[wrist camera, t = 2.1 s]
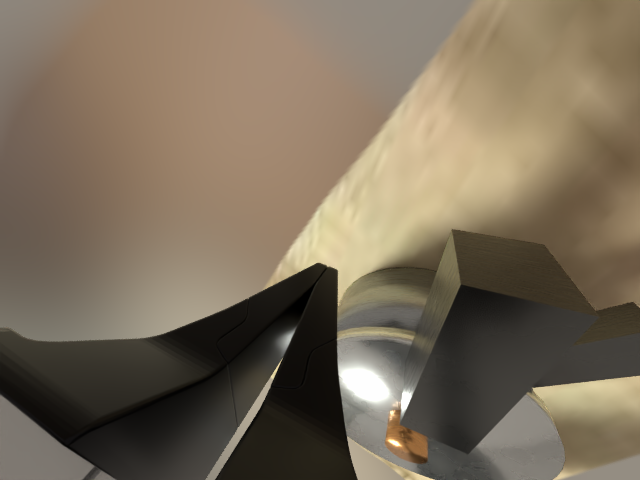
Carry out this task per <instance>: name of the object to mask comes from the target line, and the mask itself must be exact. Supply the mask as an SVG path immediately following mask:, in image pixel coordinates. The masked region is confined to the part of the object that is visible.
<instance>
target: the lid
mask: <svg viewBox="0 0 640 480" xmlns="http://www.w3.org/2000/svg"><path fill="white" fill-rule="evenodd" d="M598 318H599V316H598V314H597V313H596V312H595V310H594V309H593V308H592V307H591V305H590V304H589V303H588V301H587V300H586V299H585V297H584V296H583V295H582V294H581V292H580V291H579V290H578V288H577V287H576V286H575V284H574V283H573V282H572V281H571V279H570V278H569V277H568V275H567V274H566V273H565V271H564V270H563V269H562V268H561V266H560V265H559V264H558V262H557V261H556V260H555V258H554V257H553V256H552V255H551V253H550V252H549V251H548V249H547V248H546V247H545V245H542V244H536V243H530V242H524V241H518V240H513V239H507V238H501V237H495V236H489V235H483V234H477V233H471V232H466V231H460V230H454V229H452V230H451V233H450V236H449V239H448V242H447V244H446V247H445V250H444V253H443V256H442V259H441V261H440V264H439V267H438V270H437V273H436V276H435V278H434V281H433V284H432V287H431V290H430V293H429V296H428V298H427V301H426V304H425V307H424V310H423V313H422V315H421V318H420V321H419V324H418V327H417V330H416V331H410V330H404V329H399V328H388V327H360V328H351V329H347V330H343V331H339V332H337V353H338V372H339V382H340V390H341V398H342V405H343V413H344V421H345V428H346V435H347V436H348V437H349V438H351V439H352V440H354V441H355V442H356V443H358V444H360V445H361V446H363V447H364V448H366V449H367V450H369V451H371V452H373V453H374V454H376V455H378V456H380V457H382V458H384V459H386V460H388V461H390V462H392V463H394V464H396V465H398V466H400V467H403V468H405V469H407V470H410V471H412V472H415V473H417V474H420V475H423V476H426V477H429V478H432V479H435V480H553V479H554V478H556V477H557V476H558V474H559V473H560V472H561V470H562V469H563V466H564V462H565V452H564V447H563V444H562V441H561V439H560V436H559V433H558V431H557V428H556V426H555V423H554V420H553V418H552V415H551V413H550V411H549V410H548V408H547V407H546V405H545V404H544V402H543V401H542V400H541V399H540V398H539V397H538V395H537V394H536V393H535V392H534V391H533V390H532V389H531V388H532V387H533V386H534V385H535V384H536V383H537V382H538V381H539V380H540V379H541V378H542V377H543V376H544V375H545V374H546V373H547V371H548V370H549V369H550V368H551V367H552V366H553V365H554V364H555V363H556V362H557V361H558V360H559V359H560V358H561V357H562V356H563V355H564V354H565V353H566V352H567V351H568V349H569V348H570V347H571V346H572V345H573V344H574V343H575V342H576V341H577V340H578V339H579V338H580V337H581V336H582V335H583V334H584V333H585V332H586V331H587V330H588V329H589V327H590V326H591V325H592V324H593V323H594V322H595V321H596V320H597V319H598Z"/></svg>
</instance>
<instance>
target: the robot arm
mask: <svg viewBox="0 0 640 480" xmlns="http://www.w3.org/2000/svg"><path fill="white" fill-rule="evenodd" d="M337 318H338V270H337V269H334V268H332V267H327V265H324V264H321V263H316V264H314V265H312V266H310V267H308V268H306V269H304V270H302V271H300V272H298V273H297V274H295V275H293V276H291V277H289V278H287V279H285V280H283V281H281V282H279V283H277V284H275V285H273V286H271V287H269V288H267V289H265V290H263V291H261V292H259V293H257V294H255V295H253V296H251V297H249V299H245V300H243V301H241V302H239V303H237V304H235V305H233V306H231V307H229V308H227V309H225V310H222V311H220V312H217V313H215V314H213V315H210V316H208V317H205V318H203V319H200V320H198V321H195V322H193V323H190V324H188V325H185V326H182V327H180V328H177V329H175V330H172V331H170V332H167V333H164V334H161V335H157V336H153V337H148V338H140V339H115V340H89V341H61V342H47V341H36V340H32V339H27V338H25V337H23V336H21V335H20V334H19V333H17V332H15V331H14V330H13V329H11V328H8V327H1V328H0V480H205V479H206V478H207V476H208V474H209V473H210V471H211V470H212V468H213V467H214V465H215V463H216V462H217V460H218V459H219V457H220V456H221V454H222V452H223V451H224V449H225V448H226V446H227V445H228V443H229V441H230V440H231V438H232V437H233V435H234V434H235V432H236V430H237V428H238V427H239V426H240V424H241V422H242V421H243V419H244V418H245V416H246V415H247V413H248V411H249V410H250V408H251V407H252V405H253V404H254V402H255V400H256V399H257V397H258V396H259V394H260V392H261V391H262V389H263V387H264V386H265V384H266V383H267V381H268V380H269V378H270V377H271V375H272V374H273V372H274V370H275V369H276V367H277V366H278V364H279V363H280V361H281V359H282V358H283V359H282V361H281V363H280V366H279V368H278V370H277V373H276V375H275V377H274V380H273V382H272V384H271V388H270V389H269V391H268V393H267V396H266V398H265V400H264V402H263V404H262V406H261V408H260V410H259V411H258V413H257V414H256V416H255V417H254V419H253V421H252V422H251V424H250V426H249V427H248V429H247V430H246V432H245V434H244V435H243V436H242V438H241V440H240V441H239V443H238V444H237V446H236V448H235V449H234V451H233V452H232V454H231V456H230V457H229V459H228V460H227V462H226V463H225V465H224V467H223V468H222V470H221V471H220V473H219V475H218V476H217V478H216V479H215V480H358V479H357V476H356V473H355V470H354V467H353V464H352V460H351V456H350V451H349V446H348V441H347V435H346V428H345V421H344V413H343V405H342V398H341V390H340V382H339V372H338V353H337ZM283 356H284V357H283Z"/></svg>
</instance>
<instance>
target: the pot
mask: <svg viewBox="0 0 640 480" xmlns="http://www.w3.org/2000/svg"><path fill="white" fill-rule="evenodd" d="M436 273H437V271H432V270H428V269H420V268H390V269H384V270H379V271H376V272H373V273H370V274H367V275H365V276H363V277H361V278H360V279H358V280H357V281H355V282H354V283H353V284H352V285H351V286H350V287H349V288H348V289H347V290H346V292H345V293H344V295H343V297H342V299H341V301H340V304H339V306H338V318H337V332H339V331H343V330H347V329H351V328H360V327H388V328H399V329H404V330H410V331H416V330H417V327H418V324H419V321H420V318H421V315H422V313H423V310H424V307H425V304H426V301H427V298H428V296H429V293H430V290H431V287H432V284H433V281H434V278H435V276H436ZM595 312H596V313H597V314H598V316H599V318H598V319H597V320H596V321H595V322H594V323H593V324H592V325H591V326H590V327H589V329H588V330H587V331H586V332H585V333H584V334H583V335H582V336H581V337H580V338H579V339H578V340H577V341H576V342H575V343H574V344H573V345H572V346H571V347H570V348H569V349H568V351H567V352H566V353H565V354H564V355H563V356H562V357H561V358H560V359H559V360H558V361H557V362H556V363H555V364H554V365H553V366H552V367H551V368H550V369H549V370H548V371H547V373H546V374H545V375H544V376H543V377H542V378H541V379H540V380H539V381H538V382H537V383H536V384H535V385H534V386H533V388H536V387H544V386H553V385H562V384H570V383H579V382H588V381H596V380H605V379H614V378H622V377H631V376H640V308H639V307H638V306H637V305H636V304H635V303H634V302H631V303H627V304H623V305H619V306H615V307H611V308H607V309H603V310H599V311H595ZM531 389H532V388H531ZM532 390H533V389H532Z"/></svg>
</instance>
